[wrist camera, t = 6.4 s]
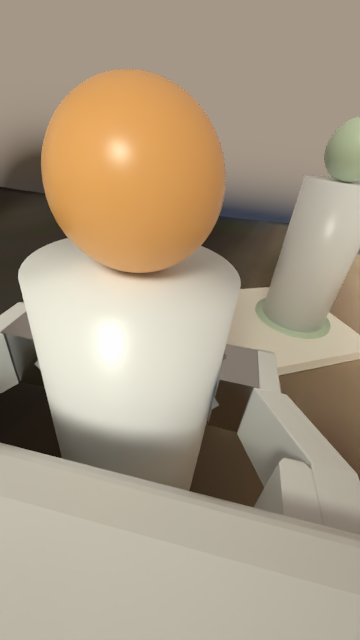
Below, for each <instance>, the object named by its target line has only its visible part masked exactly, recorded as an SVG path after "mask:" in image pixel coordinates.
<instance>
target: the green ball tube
mask: <svg viewBox="0 0 360 640" xmlns="http://www.w3.org/2000/svg"><path fill="white" fill-rule="evenodd" d="M324 160H325V166H326V169H327V171H328V173H329V174H330V175H331V176H332V177H326V176H315V175H306V176H305V177H304V180H303V183H302V186H301V189H300V192H299V195H298V198H297V202H296V205H295V208H294V211H293V214H292V218H291V221H290V224H289V227H288V230H287V233H286V236H285V239H284V243H283V246H282V249H281V252H280V255H279V258H278V262H277V265H276V268H275V271H274V274H273V277H272V280H271V284H270V287H269V290H268V293H267V296H266V299H265V303H264V306H263V312H264V314H265V315H266V317H267V318H268V319H269V320H271V321H272V322H274V323H275V324H277V325H279V326H281V327H283V328H286V329H288V330H292V331H296V332H304V333H309V332H315V331H318V330H320V329H321V327H322V326H323V324H324V321H325V319H326V317H327V315H328V313H329V311H330V309H331V307H332V305H333V303H334V301H335V298H336V296H337V294H338V292H339V290H340V288H341V286H342V284H343V282H344V280H345V278H346V275H347V273H348V271H349V269H350V267H351V265H352V263H353V261H354V259H355V257H356V254H357V252H358V250H359V248H360V182H359V181H360V116H359V117H356V118H353V119H351V120H349V121H347V122H346V123H344V124H343V125H342V126H340V127H339V128H338V129H337V130H336V131H335V132H334V134H333V135H332V137H331V138H330V140H329V142H328V144H327V146H326V150H325V156H324Z"/></svg>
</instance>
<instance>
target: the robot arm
mask: <svg viewBox="0 0 360 640" xmlns="http://www.w3.org/2000/svg"><path fill="white" fill-rule="evenodd" d="M19 382H22V383H27V384H32V385H37V386H42V387H45V386H44V382H43V378H42V374H41V370H40V366H39V361H38V357H37V353H36V349H35V345H34V341H33V337H32V333H31V328H30V324H29V320H28V316H27V312H26V308H25V304H24V302H18V303H17V304H16V305H14V306H13V307H11V308H10V309H9V310H7V311H6V312H5V313H3V314H2V315H0V393H2V392H4V391H6V390H7V389H9V388H11V387H13V386H15V385H16V384H18V383H19ZM208 425H211V426H214V427H218V428H222V429H226V430H230V431H234V432H238V433H237V435H238V437H239V439H240V441H241V443H242V445H243V447H244V449H245V451H246V453H247V455H248V457H249V459H250V460H251V462H252V464H253V466H254V468H255V470H256V472H257V474H258V476H259V478H260V480H261V482H262V484H263V486H264V489H263V491H262V493H261V495H260V497H259V498H258V500H257V502H256V504H255V505H254V507H250V506H246V505H242V504H238V503H234V502H230V501H226V500H222V499H218V498H214V497H211V496H207V495H203V494H199V493H195V492H191V491H187V490H183V489H179V488H175V487H172V486H168V485H164V484H160V483H156V482H152V481H148V480H144V479H140V478H136V477H132V476H129V475H125V474H121V473H117V472H113V471H109V470H105V469H101V468H97V467H93V466H90V465H86V464H82V463H78V462H74V461H70V460H66V459H62V458H58V457H54V456H50V455H47V454H43V453H39V452H35V451H31V450H27V449H23V448H19V447H15V446H11V445H7V444H4V443H0V640H360V481H359V478H358V475H357V473H356V472H355V471H354V470H353V468H352V467H351V466H350V465H349V464H348V463H347V462H346V461H345V460H344V458H343V457H342V456H341V455H340V454H339V453H338V452H337V451H336V449H335V448H334V447H333V446H332V445H331V444H330V443H329V442H328V440H327V439H326V438H325V437H324V436H323V435H322V434H321V433H320V432H319V430H318V429H317V428H316V427H315V426H314V425H313V424H312V423H311V421H310V420H309V419H308V418H307V417H306V416H305V415H304V414H303V412H302V411H301V410H300V409H299V408H298V407H297V406H296V405H295V403H294V402H293V401H292V400H291V399H290V398H289V397H288V396H287V395H286V394H281V389H280V382H279V375H278V369H277V362H276V355H275V353H274V352H271V351H266V350H260V349H251V348H246V347H241V346H236V345H231V344H226V347H225V351H224V355H223V359H222V363H221V366H220V370H219V374H218V378H217V382H216V387H215V391H214V394H213V398H212V402H211V406H210V411H209V420H208Z"/></svg>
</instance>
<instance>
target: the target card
mask: <svg viewBox="0 0 360 640" xmlns="http://www.w3.org/2000/svg"><path fill="white" fill-rule="evenodd" d="M268 290H269V287H263V288H251V289H240V291H239V295H238V299H237V303H236V307H235V311H234V315H233V319H232V323H231V327H230V331H229V335H228V339H227V343H226V344H231V345H236V346H241V347H246V348H251V349H260V350H266V351H271V352H274V353H275V355H276V362H277V369H278V375H283V374H288V373H293V372H298V371H303V370H308V369H313V368H318V367H323V366H328V365H333V364H338V363H343V362H348V361H353V360H358V359H360V335H359V334H358V333H356V332H355V331H354V330H352V329H351V328H350V327H348V326H347V325H346V324H344V323H343V322H342V321H340V320H339V319H338V318H336V317H335V316H333V315H332V314H331V313H328V315H327V317H326V319H325V321H324V324H323V326H322V327H321V329H320V330H318V331H315V332H309V333H304V332H296V331H292V330H288V329H286V328H283V327H281V326H279V325H277V324H275V323H274V322H272V321H271V320H269V319H268V318H267V317H266V315H265V314H264V312H263V306H264V303H265V299H266V296H267V293H268Z"/></svg>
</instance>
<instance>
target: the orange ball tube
mask: <svg viewBox="0 0 360 640" xmlns="http://www.w3.org/2000/svg"><path fill="white" fill-rule="evenodd" d="M41 170H42V181H43V186H44V190H45V195H46V198H47V201H48V204H49V207H50V210H51V211H52V213H53V215H54V217H55V219H56V221H57V223H58V224H59V226H60V227H61V229H62V230H63V232H64V233H65V235H66V236H67V237H68V238H66V239H63V240H59V241H56V242H53V243H51V244H48V245H46V246H44V247H42V248H40V249H38V250H37V251H35V252H33V253H32V254H31V255H30V256H28V257H27V258H26V259H25V261H24V262H23V263H22V264H21V267H20V269H19V274H18V279H19V283H20V287H21V291H22V295H23V300H24V304H25V308H26V312H27V316H28V320H29V324H30V328H31V333H32V337H33V341H34V345H35V349H36V353H37V357H38V361H39V366H40V370H41V374H42V378H43V382H44V386H45V390H46V395H47V399H48V403H49V407H50V411H51V415H52V419H53V423H54V428H55V432H56V436H57V440H58V444H59V448H60V452H61V456H62V459H66V460H70V461H74V462H78V463H82V464H86V465H90V466H93V467H97V468H101V469H105V470H109V471H113V472H117V473H121V474H125V475H129V476H132V477H136V478H140V479H144V480H148V481H152V482H156V483H160V484H164V485H168V486H172V487H175V488H179V489H183V490H187V491H190V487H191V483H192V479H193V475H194V471H195V467H196V463H197V459H198V455H199V451H200V447H201V443H202V439H203V435H204V431H205V427H206V423H207V419H208V415H209V411H210V406H211V402H212V398H213V394H214V391H215V387H216V382H217V378H218V374H219V370H220V366H221V363H222V359H223V355H224V351H225V347H226V343H227V339H228V335H229V331H230V327H231V323H232V319H233V315H234V311H235V307H236V303H237V299H238V295H239V291H240V286H241V282H240V277H239V274H238V272H237V271H236V269H235V268H234V267H233V266H232V265H231V264H230V263H229V262H228V261H227V260H226V259H224V258H223V257H222V256H220V255H218V254H217V253H215V252H213V251H211V250H209V249H207V248H205V247H202V246H201V245H202V244H203V243H204V241H205V240H206V239H207V237H208V236H209V234H210V233H211V231H212V229H213V227H214V225H215V224H216V222H217V219H218V217H219V214H220V211H221V208H222V203H223V200H224V193H225V164H224V157H223V152H222V148H221V145H220V141H219V139H218V136H217V133H216V131H215V129H214V127H213V125H212V123H211V121H210V119H209V118H208V116H207V115H206V114H205V112H204V111H203V109H202V108H201V106H200V105H199V104H198V103H197V102H196V101H195V100H194V99H193V98H192V96H191V95H189V94H188V93H187V92H186V91H185V90H183V89H182V88H181V87H180V86H178V85H177V84H175V83H173V82H172V81H170V80H168V79H166V78H165V77H162V76H159V75H157V74H154V73H151V72H148V71H144V70H138V69H118V70H111V71H108V72H103V73H100V74H97V75H95V76H93V77H91V78H89V79H87V80H85V81H84V82H82V83H81V84H80V85H78V86H77V87H75V88H74V89H73V90H72V91H71V92H70V93H69V94H68V95H67V96H66V97H65V98H64V99H63V101H62V102H61V103H60V105H59V106H58V107H57V109H56V110H55V112H54V114H53V116H52V118H51V120H50V122H49V124H48V128H47V131H46V134H45V137H44V142H43V147H42V159H41Z"/></svg>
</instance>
